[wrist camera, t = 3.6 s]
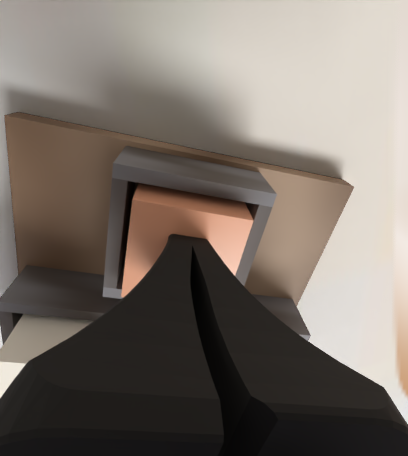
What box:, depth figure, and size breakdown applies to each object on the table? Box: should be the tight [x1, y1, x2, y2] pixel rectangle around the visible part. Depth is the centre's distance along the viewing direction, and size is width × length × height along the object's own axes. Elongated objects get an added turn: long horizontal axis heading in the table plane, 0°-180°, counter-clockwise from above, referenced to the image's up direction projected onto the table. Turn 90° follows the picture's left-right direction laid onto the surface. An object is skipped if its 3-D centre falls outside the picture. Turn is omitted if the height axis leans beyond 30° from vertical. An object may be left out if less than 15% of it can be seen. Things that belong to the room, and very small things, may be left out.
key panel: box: [0, 112, 354, 345], centre depth 14 cm, size 14×13×4 cm
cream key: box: [0, 314, 93, 398], centre depth 13 cm, size 4×4×3 cm
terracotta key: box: [121, 183, 254, 297], centre depth 12 cm, size 4×4×3 cm
